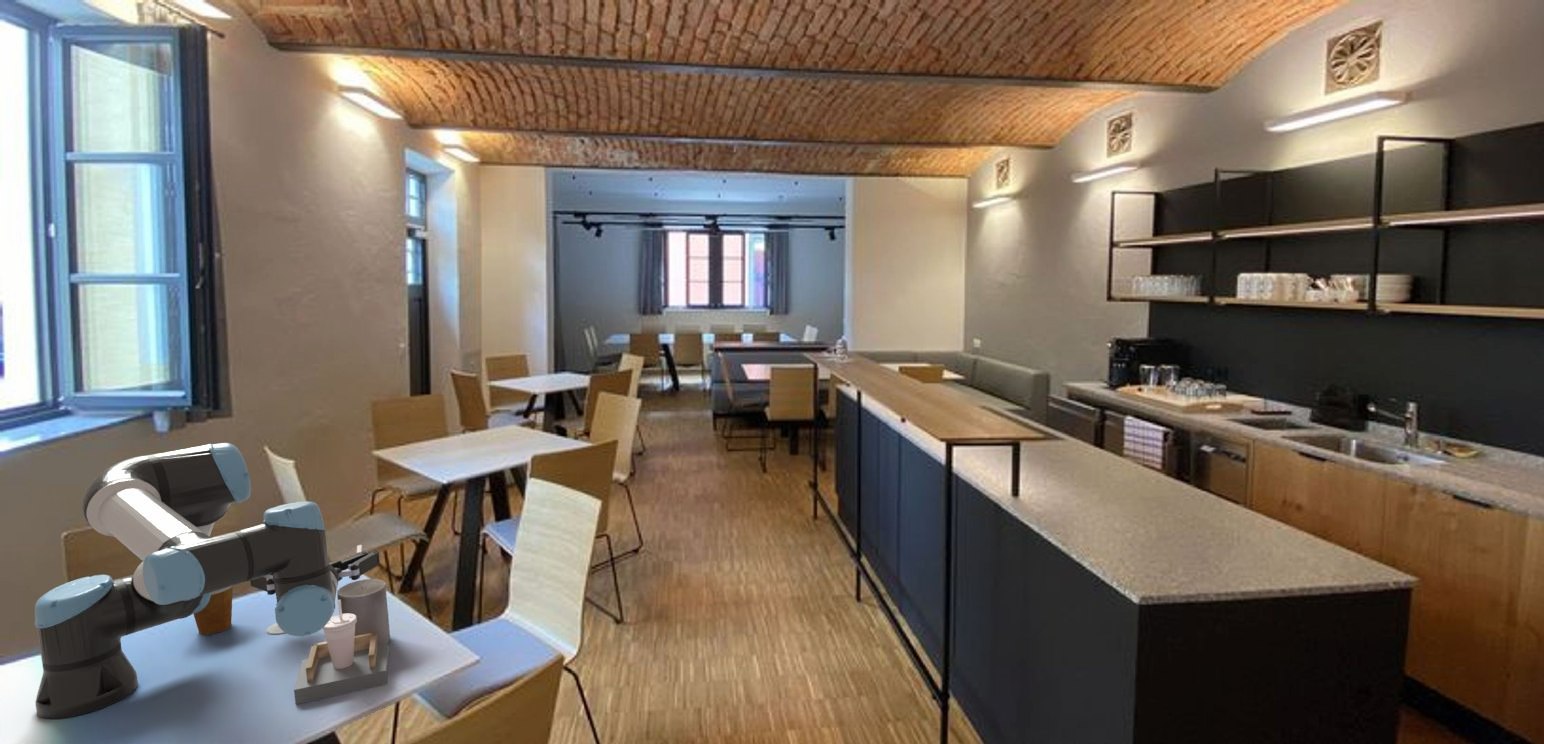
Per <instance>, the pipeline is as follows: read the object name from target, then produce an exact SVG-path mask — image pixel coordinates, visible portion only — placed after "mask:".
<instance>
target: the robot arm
mask: <svg viewBox="0 0 1544 744" xmlns="http://www.w3.org/2000/svg"><path fill="white" fill-rule="evenodd" d="M238 448H239V447H237V446H236V445H234V444H233V443H231V442H220V443H214V444H213V443H208V444H204V445H199V446H193V447H187V448H182V449H176V450H170V451H164V452H158V453H151V454H146V455H139V456H135V457H134V456H133V457H130V458H126V459H124V460H121V461H119V462H117V463H115V464H112V465H110V466H109V467H107V468H105V470H103V471H101V472H100V473H99V474H98V475H97V476H95V477H94V478H93V479H92V481H91V482H90V483H89V484H88V486H87V487H86V489H85V491H84V492H83V496H82V498H81V504H80V506H81V508H80V509H81V513H82V517H83V518H84V520H85V522H86V523H87V525H89V526H90V527H91V528H92V529H94V531H96V532H97V533H99V534H101V535H103V536H106V537H107V536H108V537H113V538H115V539H116V540H118V541H119V542H120V543H121V544H122V545H124V546H125V547H126V548H127V549H128V550H129V551H130V552H131V553H133V554H134V555H135V556H137V558H138V559H140V560H141V563H139V565H138V566H136V567H137V568H136V569H135V571H134V573H133V574H131V575H127V576H123V577H119V578H115V579H113V578H112V576H111V575H109V574H108V575H107V574H94V575H92V576H84V577H80V578H77V579H74V580H72V581H68V582H66V583H63V584H60V585H59V586H57V587H53V588H52V589H50V590H49V591H47V592H46V593H44V594H43V595H41V596H40V597H39V598H38V599H37V601H36V603H35V605H34V627H35V628H36V632H37V635H38V644H39V649H40V657H41V664H42V669H43V670H42V671H43V673H42V677H41V680H40V683H39V687H38V691H37V694H36V697H35V698H36V699H35V709H36V714H37V716H39V717H40V718H44V719H64V718H70V717H71V718H72V717H76V716H80V715H84V714H88V713H92V712H94V711H97V710H101V709H103V708H107V706H110V705H112V704H115V703H117V702H119V701H121V700H122V699H124V698H125V697H127V696H128V695H130V694H131V693H133V691H135V690H136V689H137V687H138V685H139V682H138V673H137V671H136V669H135V668H134V667H133V665H132V663H131V662H130V661H129V659H128V657H127V656H126V654H125V653H124V651H123V648H122V642H121V638H123V637H126V636H129V635H132V634H134V633H137V632H141V631H144V630H147V629H151V628H154V627H157V626H161V625H163V624H167V623H170V622H173V621H176V620H180V619H185V618H189V617H190V616H192V615H194V613H197V612H199V611H201V610H203V609H204V608H205V607H206V605H207V604H208V602H209V600H210V596H211V592H214V591H217V590H220V589H224V588H227V587H230V586H237V585H239V584H242V583H243V584H244V583H245V582H250V587H253V588H255V589H258V590H261V591H264V592H266V593H267V596H268V595H269V596H273V595H275V596H276V597H275V598H276V606H275V608H274V614H275V621H276V622H275V623H277V624H278V626H279V627H280V629H281V630H282V631H284V632H285V633H284V634H287V635H289V636H292V637H306V636H311V635H313V634H316V633H317V632H319V631H321V630H322V628H323V627H324V626H325V625H326V624H327V623H328V621H329V620H330V618H331V617H332V616H334V615H333V614H334V613H335V609H336V603H335V602H336V596H337V595H336V594H337V591H338V586H339V582H340V581H341V580H343V578H345V577H346V578H347V577H348V579H351V581H358V579H360V578H361V576H362V575H364V574H366V573H368V572H370V571H371V570H373V569H374V568H376V567H378V566H380V565H381V564H380V563H381V561H380V551H379V550H374V551H372V552H369V551H368V550H365V551H364V550H363V546H362V544H359V545H356V554H355V555H353V556H350V557H348V558H346V559H342V560H333V561H330V562H329V554H328V547H327V539H326V538H327V537H326V526H325V525H324V520H323V515H322V512H321V508H320V505H319V504H317V503H316V502H314V501H307V500H306V501H296V502H290V503H286V504H284V503H283V504H281V505H277V506H274V507H270V508H268V509H266V510H265V512H264V513H263V515H262V517H263V519H262V523H261V524H259V525H255V526H252V527H249V528H244V529H240V530H236V531H233V532H232V531H231V532H228V533H223V534H219V535H215V536H211V533H212V530H213V528H214V525H215V523H217V522H219V521H220V520H222V519H223V518H224V517H225V515H227V513H228V512H229V510H230V507H231V505H232V504H235V503H237V504H241V503H242V502H244V501H247V500H248V499H249V498H250V496H251V493H252V492H251V491H252V486H251V479H250V473H249V470H248V467H247V463H246V460H244V457H243V455H242V453H241V451H240V450H239V449H238Z"/></svg>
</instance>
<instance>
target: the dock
mask: <svg viewBox="0 0 1544 744" xmlns="http://www.w3.org/2000/svg"><path fill="white" fill-rule="evenodd" d="M389 651H390V650H389V643H385V644H380V645H378V646H377V657H376V667H375V668H374V669H370V666H369V649H364V650H359V651H354V662H353V664H352V665H350V666H349V667H346V668H342V669H335V668H334V667H333V664H332V660H331V656H329V657H324V658H319V660H318V664H317V668H316V672H315V676H314V680H313V681H312V682H307V676H306V665H307V662H308V658H305V659H302V660H301V664H300V668H299V671H298V675H297V678H296V682H295V685H294V688H293V693H294V702H295V703H294V704H295V705H299V704H303V703H307V702H312V701H318V700H322V699H326V698H330V697H335V696H340V695H345V694H348V693H355V692H359V691H362V690H367V689H372V688H377V687H381V686H386V685H388V679H389V678H388V677H389V676H388V675H389V663H390V662H389V661H390V652H389Z"/></svg>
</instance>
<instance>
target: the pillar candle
mask: <svg viewBox="0 0 1544 744" xmlns="http://www.w3.org/2000/svg"><path fill="white" fill-rule="evenodd" d="M386 587H387V582H385V581H384V580H383V579H379V578H378V579H377V578H367V579H360V580H354V581H353V582H349V583H346V584H344V585H343V586H341V587H340V588H339V589H337V591H336V594H337V595H336V596H337V601H338V600H341V608H342V614H345V613H350V614H354V615H356V619H357V622H356V623H355V636H357V635H363V634H368V633H373V632H376V633H377V643H378V645H380V644H385V643H388V644H389V643H390V641H391V633H390V621H389V619H390V618H389V610H388V600H387V599H388V598H387V588H386Z"/></svg>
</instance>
